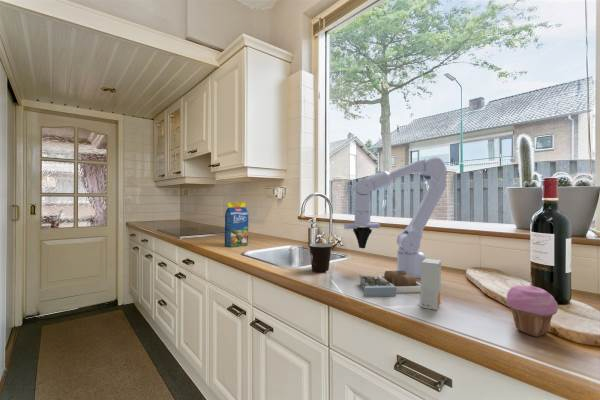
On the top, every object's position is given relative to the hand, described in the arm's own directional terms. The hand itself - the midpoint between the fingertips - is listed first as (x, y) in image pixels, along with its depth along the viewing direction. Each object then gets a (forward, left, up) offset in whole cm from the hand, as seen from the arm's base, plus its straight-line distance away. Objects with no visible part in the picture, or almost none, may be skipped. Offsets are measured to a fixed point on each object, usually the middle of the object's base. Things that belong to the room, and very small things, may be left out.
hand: (362, 248), depth 112 cm
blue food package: (+52, -69, -10) cm, 87 cm away
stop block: (+3, +25, -10) cm, 27 cm away
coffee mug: (+14, -8, -10) cm, 19 cm away
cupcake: (-21, +50, -10) cm, 55 cm away
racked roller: (-7, +13, -9) cm, 17 cm away
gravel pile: (+2, +18, -10) cm, 21 cm away
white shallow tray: (-7, +17, -10) cm, 21 cm away
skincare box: (-8, +33, -10) cm, 35 cm away
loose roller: (-7, +18, -9) cm, 22 cm away
